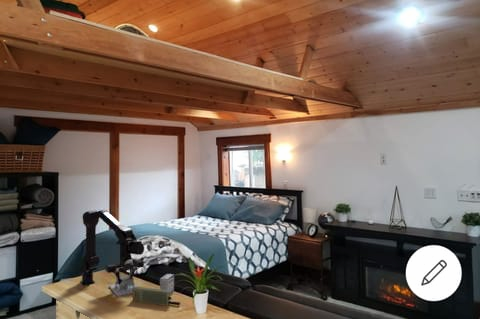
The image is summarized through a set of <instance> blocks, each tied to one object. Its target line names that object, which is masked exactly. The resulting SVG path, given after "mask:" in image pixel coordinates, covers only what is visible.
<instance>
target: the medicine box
mask: <svg viewBox="0 0 480 319" xmlns="http://www.w3.org/2000/svg"><path fill="white" fill-rule="evenodd" d="M159 289H161V290H170V291H171V292H170V293H171V294H172V293H173V292H174V291H175V275H174V273H173V274H172V273H166V274H164V275H163V276H162V277H160V278H159Z"/></svg>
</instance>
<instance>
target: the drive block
mask: <svg viewBox="0 0 480 319" xmlns="http://www.w3.org/2000/svg"><path fill="white" fill-rule="evenodd" d="M134 280H135V279H134V278H133V277H132V278H131V277H129V275H127V274H124V275H123V274H122V275H120V284H119V283H118V280H117V278H116V281H115V282H117V284H118V285H120V286H122V287H124V288H126V287H127V286H128V285H129V286H133V285H134Z"/></svg>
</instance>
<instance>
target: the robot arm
mask: <svg viewBox="0 0 480 319" xmlns="http://www.w3.org/2000/svg"><path fill="white" fill-rule="evenodd" d="M100 219H101V220H102V221H103V222H104V223H105V224H106V225H107V226H108V227H109V228H110V229H111V230H113V232H114V235H115V237H116V238H117V241H116V242H115V244H116V245H119V248H118V250H119V251H118V252H119V254H118V258H119V259H118V265H115V264H114V263H111V264H106V265H105V267H104V268H105V270H104V271H106V273H108V274H110V273H113V274H114V275H115V277H116V278H117V280H118V283H119V284H120V276H121V275H120V273H121V272H120V270H121V269H123V270H124V271H125V272H126V271H129V275H128V276H129V277H131V278H133V277H134V274H135V272H136V271H137V270H139V269H140V268H141V269H142V268H144V267H145V263H144V261H143V260H141V259H137V258H132V255H137V256H138V255H139V256H141V255H142V254H143V253H144V251H145V245H144V244H143V243H142V242H143V241H142V240H138V239H137V237H136V236H135V234H134V231H133V230H132V228H130V227H128V226H127V225H124V224H122V223H121V222H120V221H118V220H117V219H116V218H115V217H114V216H113V215H112V214H110V212H109V211H108V210H107V209H101V210H98V211H97V210H89V211H85V212H83V214H82V224H83V225H84V226H85V254H84V256H83V257H82V261H81V265H80V266H79V267H78V268H77V273H78V274H81V280H79V282H80V284H81V286H85V285H90V284H95V283H96V281H95V280H94V271H96V270H97V269H98V267H99V266H100V265H99V264H100V255H97V253H96V244H97V243H96V237H97V236H96V235H97V233H96V231H97V230H96V229H97V228H96V227H97V226H98V224H99V221H100Z"/></svg>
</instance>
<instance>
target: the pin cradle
mask: <svg viewBox="0 0 480 319" xmlns="http://www.w3.org/2000/svg"><path fill="white" fill-rule="evenodd" d="M134 286H136V287H139V285H137V284H136V282H134V285H133V286H129V285H128V286H127V287H126V288H124V287H122V286H120V285H118V284H117V282H116V281H114V283H113V284H109V285H108V287H109V289H110V290H111V291H112V292H113V293H114V294H115V295H116V296H117V297H120V296H125V295H129V294H132V288H133V287H134Z"/></svg>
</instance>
